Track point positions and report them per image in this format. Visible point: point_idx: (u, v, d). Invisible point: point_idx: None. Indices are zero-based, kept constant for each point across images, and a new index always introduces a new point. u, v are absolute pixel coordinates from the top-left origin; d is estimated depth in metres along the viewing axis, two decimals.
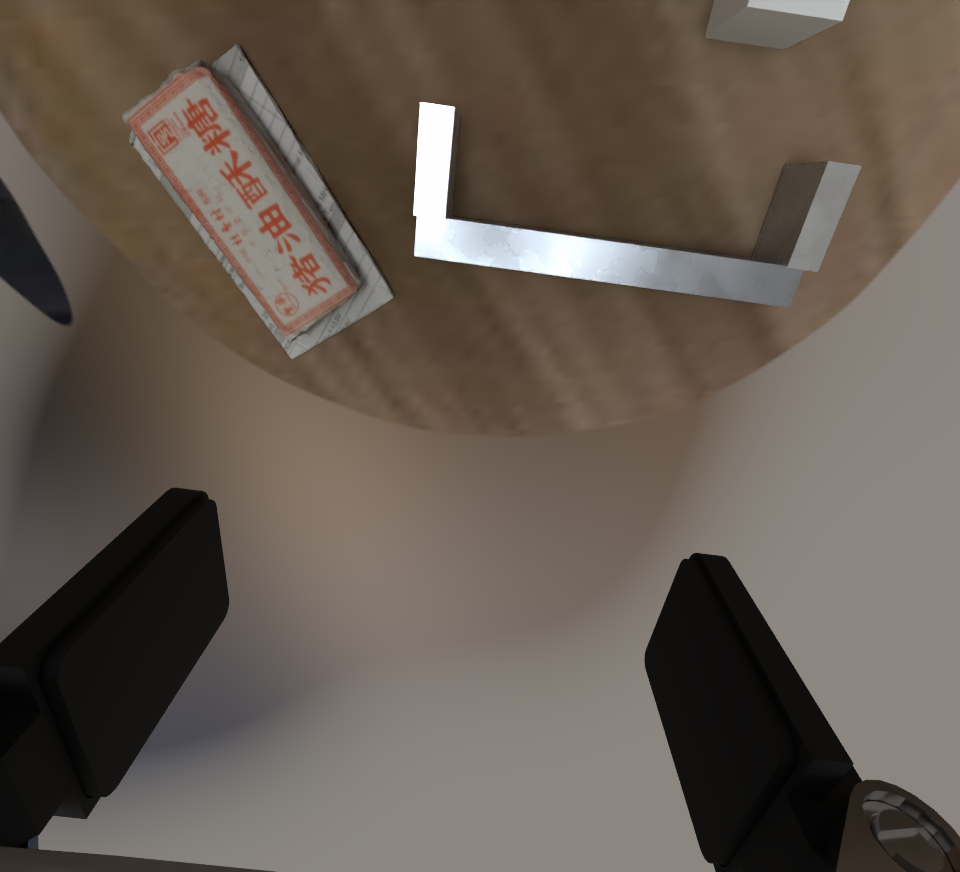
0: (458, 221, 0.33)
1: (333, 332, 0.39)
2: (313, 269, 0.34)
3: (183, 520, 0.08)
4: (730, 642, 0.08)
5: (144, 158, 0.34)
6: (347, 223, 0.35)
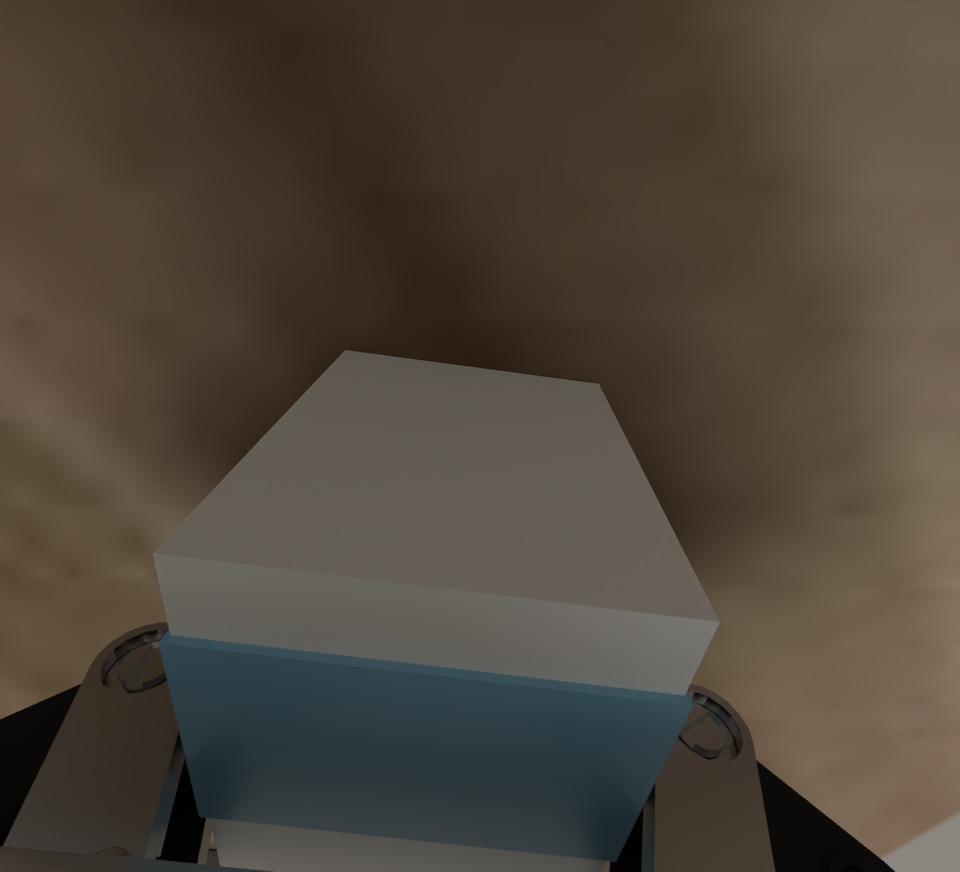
0: None
1: None
2: None
3: None
4: None
5: None
6: None
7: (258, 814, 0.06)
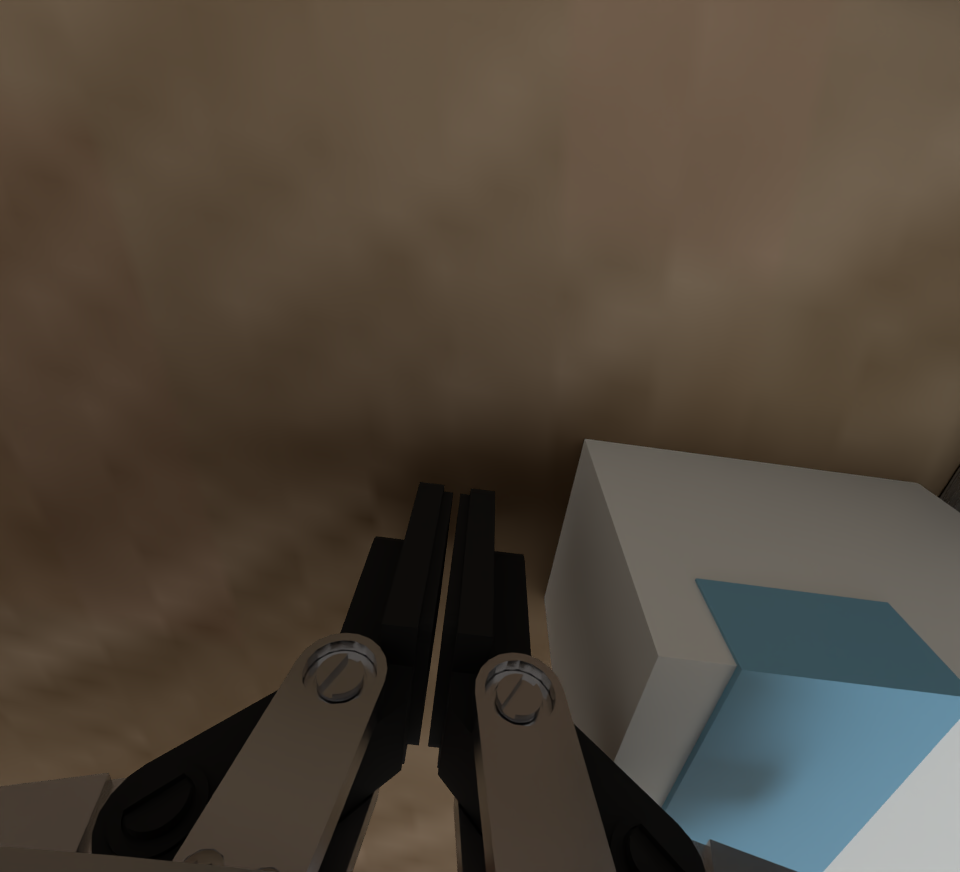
0: None
1: None
2: None
3: (445, 510, 0.10)
4: (455, 554, 0.09)
5: None
6: None
7: (812, 870, 0.08)
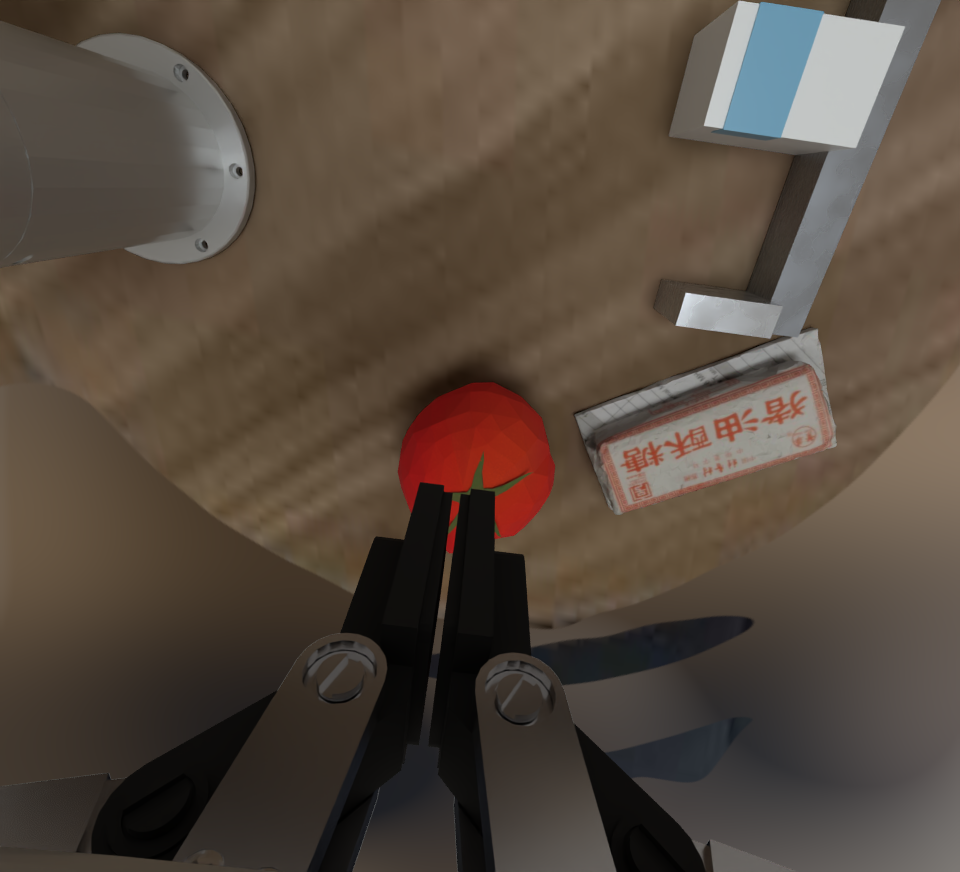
0: (776, 289, 0.31)
1: (827, 398, 0.37)
2: (780, 403, 0.34)
3: (445, 510, 0.10)
4: (455, 554, 0.09)
5: None
6: (730, 360, 0.36)
7: (783, 120, 0.25)
